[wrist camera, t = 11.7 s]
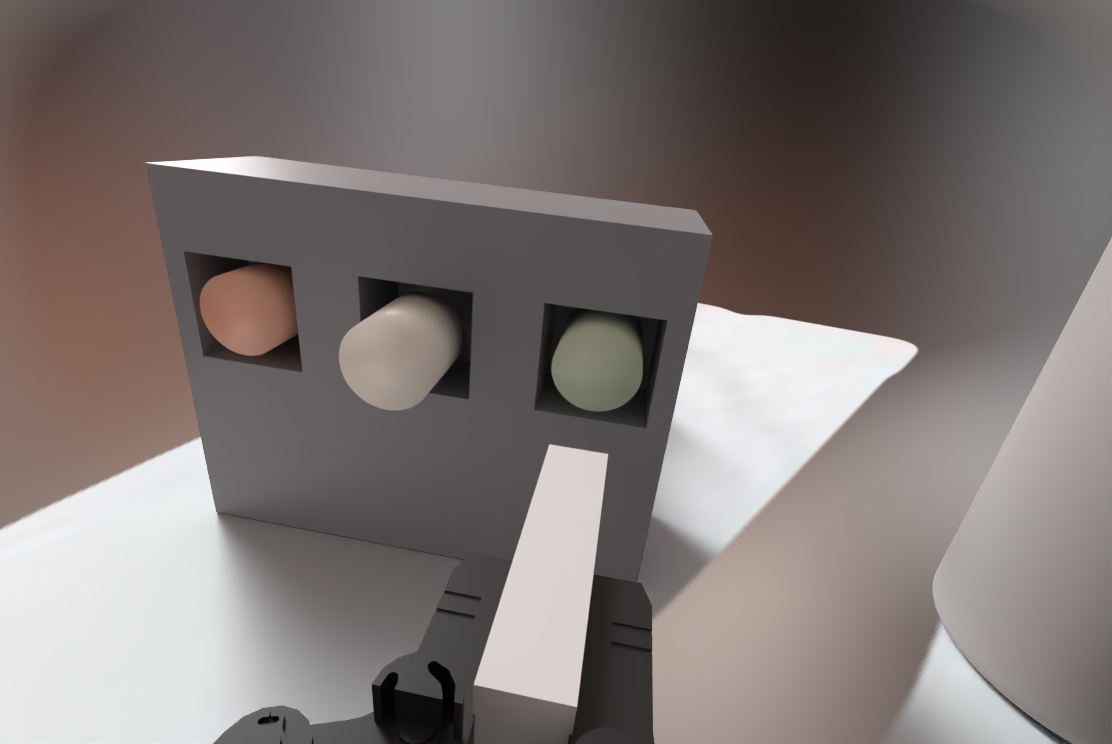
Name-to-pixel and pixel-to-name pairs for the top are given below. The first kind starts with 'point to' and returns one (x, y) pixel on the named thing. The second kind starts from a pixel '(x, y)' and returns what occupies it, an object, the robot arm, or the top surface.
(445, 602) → the robot arm
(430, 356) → the cream button
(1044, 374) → the cylinder vase
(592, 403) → the sage button
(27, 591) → the top surface
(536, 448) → the console
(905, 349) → the top surface
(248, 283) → the terracotta button
